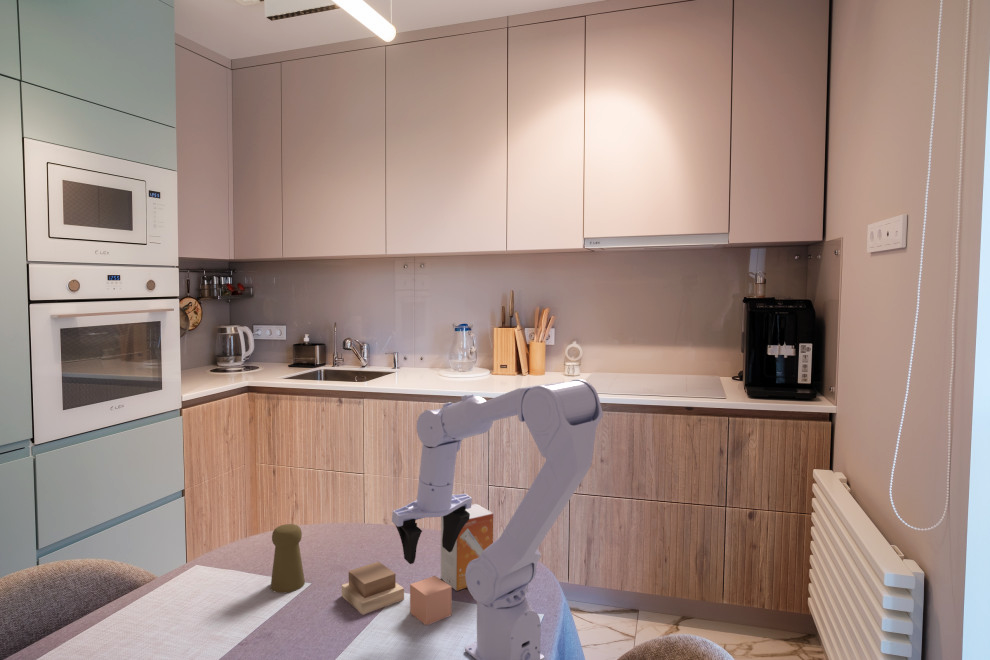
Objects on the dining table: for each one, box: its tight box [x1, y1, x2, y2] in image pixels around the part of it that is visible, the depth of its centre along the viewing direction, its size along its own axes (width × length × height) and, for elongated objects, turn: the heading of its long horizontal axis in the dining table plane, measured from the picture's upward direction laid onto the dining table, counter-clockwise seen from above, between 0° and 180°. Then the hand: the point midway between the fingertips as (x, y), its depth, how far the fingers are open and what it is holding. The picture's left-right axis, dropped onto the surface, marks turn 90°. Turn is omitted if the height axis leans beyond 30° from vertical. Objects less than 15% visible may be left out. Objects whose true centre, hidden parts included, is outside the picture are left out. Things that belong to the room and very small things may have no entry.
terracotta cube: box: [409, 575, 453, 626], centre depth 101 cm, size 5×5×5 cm
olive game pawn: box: [269, 523, 306, 594], centre depth 110 cm, size 6×6×11 cm
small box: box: [440, 503, 494, 592], centre depth 113 cm, size 8×6×13 cm
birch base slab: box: [341, 582, 405, 615], centre depth 106 cm, size 8×8×2 cm
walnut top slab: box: [348, 561, 397, 598], centre depth 106 cm, size 6×6×2 cm
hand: (428, 554), depth 101 cm, fingers open, 7 cm apart
